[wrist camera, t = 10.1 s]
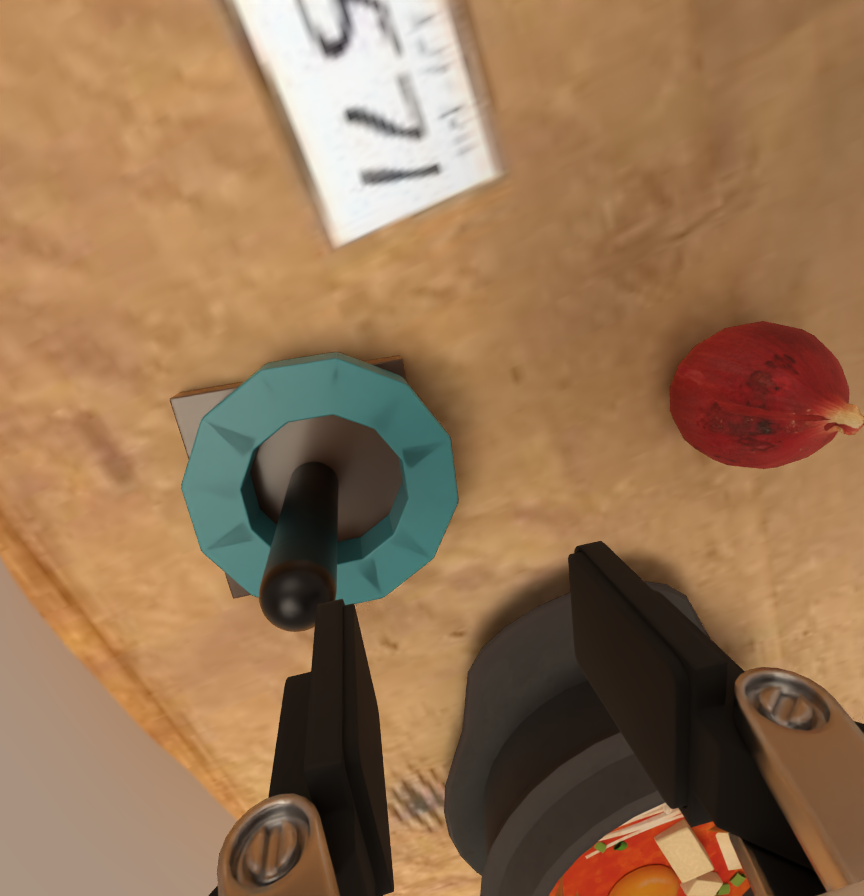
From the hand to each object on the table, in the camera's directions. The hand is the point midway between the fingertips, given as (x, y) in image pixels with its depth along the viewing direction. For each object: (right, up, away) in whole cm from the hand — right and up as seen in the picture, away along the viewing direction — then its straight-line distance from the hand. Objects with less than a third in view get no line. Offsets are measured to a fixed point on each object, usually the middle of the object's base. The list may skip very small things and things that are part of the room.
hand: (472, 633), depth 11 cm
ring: (-5, +3, +10) cm, 12 cm away
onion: (+11, +7, +13) cm, 19 cm away
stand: (-6, +3, +11) cm, 13 cm away
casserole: (+9, -14, +19) cm, 25 cm away
